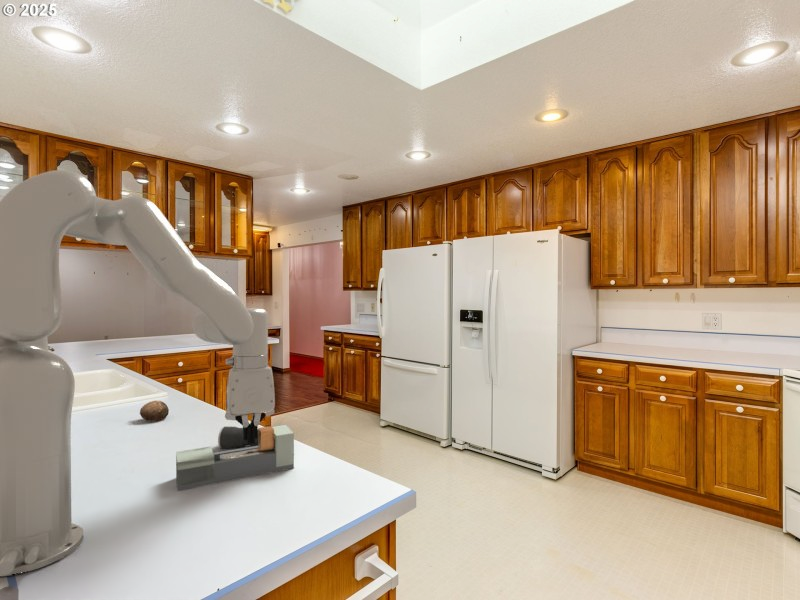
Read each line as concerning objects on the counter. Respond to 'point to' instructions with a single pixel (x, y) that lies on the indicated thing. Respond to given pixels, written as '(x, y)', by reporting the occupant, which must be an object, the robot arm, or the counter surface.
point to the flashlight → (232, 438)
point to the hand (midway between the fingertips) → (250, 442)
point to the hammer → (263, 443)
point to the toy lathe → (233, 462)
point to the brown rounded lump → (154, 411)
